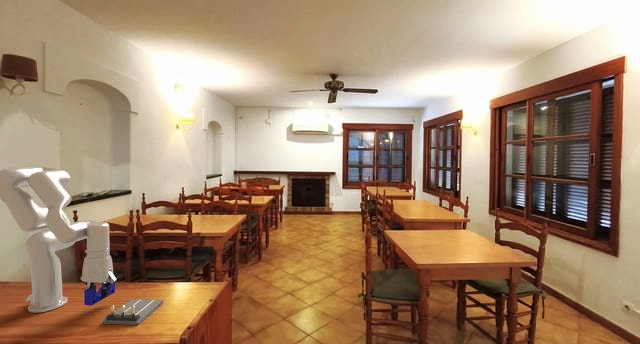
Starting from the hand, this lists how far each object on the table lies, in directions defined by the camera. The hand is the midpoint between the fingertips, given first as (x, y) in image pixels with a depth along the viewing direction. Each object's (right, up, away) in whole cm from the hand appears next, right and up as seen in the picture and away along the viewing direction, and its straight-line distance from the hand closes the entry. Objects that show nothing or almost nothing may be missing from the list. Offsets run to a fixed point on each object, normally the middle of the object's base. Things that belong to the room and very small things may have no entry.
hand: (98, 296), depth 130 cm
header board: (+16, -6, -2) cm, 17 cm away
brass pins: (+16, -5, -9) cm, 19 cm away
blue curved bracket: (0, -1, 0) cm, 1 cm away
